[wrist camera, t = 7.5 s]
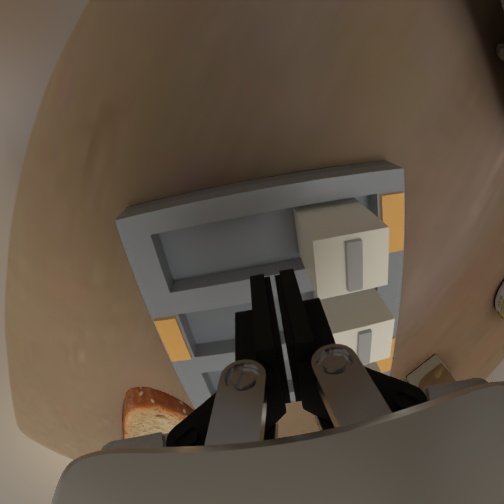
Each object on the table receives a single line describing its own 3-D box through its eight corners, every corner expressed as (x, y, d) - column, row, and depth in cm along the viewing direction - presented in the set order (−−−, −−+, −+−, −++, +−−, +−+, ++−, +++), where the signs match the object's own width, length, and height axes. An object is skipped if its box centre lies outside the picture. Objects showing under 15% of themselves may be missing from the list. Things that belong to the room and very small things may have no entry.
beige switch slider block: (292, 206, 20) (314, 243, 15) (352, 196, 20) (391, 229, 14) (299, 253, 21) (319, 303, 16) (355, 243, 21) (389, 287, 16)
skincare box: (450, 372, 31) (494, 446, 20) (423, 393, 32) (461, 470, 21) (434, 351, 29) (486, 436, 18) (403, 375, 30) (446, 464, 19)
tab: (312, 284, 22) (333, 337, 17) (364, 273, 22) (396, 321, 17) (315, 321, 24) (333, 375, 19) (363, 310, 24) (391, 360, 18)
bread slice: (149, 375, 28) (142, 404, 25) (261, 445, 35) (263, 469, 31) (69, 420, 32) (61, 442, 29) (168, 475, 39) (166, 495, 35)
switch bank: (127, 207, 20) (113, 222, 18) (385, 160, 20) (406, 169, 17) (199, 392, 29) (197, 416, 26) (379, 358, 28) (390, 380, 25)
